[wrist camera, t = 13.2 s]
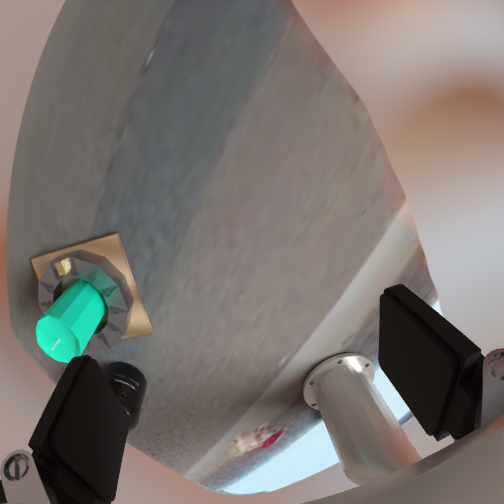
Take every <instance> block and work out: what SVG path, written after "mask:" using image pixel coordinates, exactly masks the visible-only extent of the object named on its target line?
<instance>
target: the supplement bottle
mask: <svg viewBox="0 0 504 504" xmlns="http://www.w3.org/2000/svg"><path fill="white" fill-rule="evenodd" d="M104 375H105V377H106V379H107V381H108V382H109V384H110V386H111V387H112V389H113V391H114V392H115V394H116V396H117V397H118V399H119V400H120V402H121V404H122V405H123V407H124V408H125V410H126V411H127V413H128V415H129V418H130V424H129V429H128V432H129V431H131V430H132V429H134V428H135V427H136V425H137V423H138V420H139V416H140V411H141V407H142V403H143V399H144V395H145V391H146V385H147V383H146V379H145V377H144V375H143V374H142V373H141V372H140V371H139V370H138V369H137V368H135V367H134V366H132V365H129V364H125V363H116V364H113V365H111V366H109V367H108V368H107V370H106V372H105V374H104ZM127 435H128V433H127Z"/></svg>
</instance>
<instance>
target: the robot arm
mask: <svg viewBox="0 0 504 504" xmlns="http://www.w3.org/2000/svg"><path fill="white" fill-rule="evenodd" d="M378 360H379V365H380V367H381V369H382V370H383V372H384V373H385V375H386V376H387V377H388V379H389V380H390V382H391V383H392V384H393V386H394V387H395V389H396V390H397V391H398V393H399V394H400V396H401V397H402V399H403V400H404V401H405V403H406V404H407V406H408V407H409V409H410V410H411V412H412V413H413V414H414V416H415V417H416V419H417V420H418V421H419V423H420V424H421V426H422V428H423V429H424V430H425V432H426V433H427V434H428V435H429V436H432V435H433V436H434V437H435V439H436V440H437V442H438V441H440V440H441V439H443V438H445V437H447V436H449V435H451V436H452V437H453V439H455V441H454V443H453V444H451V445H449V446H447V447H445V448H443V449H441V450H440V451H438V452H436V453H434V454H432V455H430V456H428V457H426V458H424V459H422V458H421V456H420V455H419V454H418V452H417V451H416V449H415V448H414V446H413V445H412V443H411V442H410V440H409V439H408V437H407V435H406V434H405V432H404V430H403V429H402V427H401V426H400V424H399V422H398V421H397V419H396V418H395V416H394V415H393V413H392V411H391V410H390V408H389V407H388V405H387V404H386V402H385V400H384V399H383V397H382V396H381V394H380V393H379V391H378V389H377V388H376V386H375V385H374V383H373V379H374V374H375V372H374V367H373V364H372V363H371V361H370V360H369V359H368V358H367V357H366V356H364V355H362V354H358V353H343V354H339V355H336V356H333V357H331V358H329V359H327V360H325V361H323V362H322V363H320V364H319V365H318V366H316V367H315V368H314V369H313V370H312V371H311V372H310V374H309V375H308V376H307V378H306V380H305V382H304V385H303V396H304V399H305V401H306V403H307V404H308V405H309V406H310V407H312V408H313V409H316V410H319V411H320V413H321V416H322V418H323V421H324V423H325V426H326V428H327V431H328V433H329V436H330V438H331V441H332V443H333V446H334V448H335V451H336V453H337V456H338V458H339V461H340V463H341V466H342V468H343V470H344V472H345V474H346V476H347V477H348V478H349V479H350V480H351V481H352V482H354V483H356V484H358V485H360V486H359V487H356V488H353V489H350V490H347V491H344V492H341V493H338V494H335V495H332V496H328V497H325V498H321V499H317V500H314V501H310V502H306V503H303V504H504V348H502V349H496V350H493V351H491V352H490V353H488V354H487V355H486V357H484V356H483V355H482V354H481V349H480V348H479V347H478V346H476V345H475V344H474V343H473V342H472V341H471V340H470V339H468V338H467V337H466V336H465V335H463V333H462V332H460V331H459V330H458V329H457V328H455V327H454V326H453V325H452V324H451V323H450V322H448V321H447V320H446V319H445V318H444V317H443V316H441V315H440V314H439V313H438V312H437V311H435V310H434V309H433V308H432V307H430V306H429V305H428V304H427V303H426V302H424V301H423V300H422V299H421V298H419V297H418V296H417V295H416V294H414V293H413V292H412V291H411V290H409V289H408V288H407V287H405V286H404V285H403V284H398V285H395V286H392V287H389V288H386V289H385V290H384V294H382V295H381V296H380V326H379V355H378ZM129 424H130V418H129V415H128V413H127V411H126V410H125V408H124V407H123V405H122V404H121V402H120V400H119V399H118V397H117V396H116V394H115V392H114V391H113V389H112V387H111V386H110V384H109V382H108V381H107V379H106V377H105V375H104V374H103V372H102V370H101V368H100V367H99V365H98V363H97V361H96V360H95V359H92V358H91V357H90V356H88V355H84V356H76V357H73V358H72V359H71V360H70V362H69V364H68V366H67V368H66V369H65V371H64V373H63V375H62V377H61V379H60V380H59V382H58V384H57V386H56V388H55V390H54V392H53V394H52V396H51V398H50V400H49V401H48V403H47V405H46V407H45V409H44V412H43V414H42V416H41V418H40V420H39V422H38V424H37V426H36V428H35V430H34V432H33V435H32V437H31V439H30V441H29V443H28V445H29V447H30V448H31V449H32V450H33V453H32V455H31V454H30V453H29V452H28V451H25V450H16V451H14V452H12V453H10V454H9V455H8V456H7V457H6V458H5V459H4V461H3V462H2V465H1V468H0V474H1V480H0V504H111V501H114V499H115V496H116V490H117V484H118V478H119V473H120V468H121V462H122V457H123V452H124V447H125V443H126V438H127V433H128V429H129Z"/></svg>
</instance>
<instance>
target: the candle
mask: <svg viewBox="0 0 504 504" xmlns="http://www.w3.org/2000/svg"><path fill="white" fill-rule="evenodd" d="M107 309H108V306H107V303H106V301H105V298H104V296H103V294H102V293H101V292H100V291H99V290H98V289H97V288H96V287H95V286H94V285H93V284H91V283H90V282H88V281H85V280H82V279H78V280H76V281H74V282H73V283H72V284H71V285H70V286H69V287H68V288H67V289H66V290H65V292H64V293H63V294H62V295H61V296H60V297H59V298H58V299H57V300H56V301H55V302H54V304H53V305H52V306H51V307H50V308H49V309H48V310H47V311H46V313H45V314H44V315H43V316H42V317H41V318H40V319H39V321H38V323H37V327H36V335H37V343H38V344H39V346H40V347H41V348H42V349H43V351H44V352H45V353H46V354H47V355H49V356H50V357H52V358H53V359H55V360H56V361H60V362H66V363H69V362H70V360H71V359H72V358H73V357H76V356H81V354H82V353H83V351H84V349H85V347H86V345H87V344H88V342H89V340H90V338H91V336H92V335H93V333H94V331H95V329H96V328H97V326H98V324H99V322H100V321H101V319H102V317H103V316H104V314H105V312H106V310H107Z"/></svg>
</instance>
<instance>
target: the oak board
mask: <svg viewBox="0 0 504 504" xmlns="http://www.w3.org/2000/svg"><path fill="white" fill-rule="evenodd" d="M80 249H82V250H85V251H89V252H92V253H95V254H98V255H102V256H105V257H106V258H107V259H108V260H109V261H110V262H111V263H112V264H113V265H114V266H115V267H116V268H117V269H118V270H119V271H120V272H121V273H123V274H124V275H125V278H126V280H127V283H128V286H129V289H130V291H131V294H132V297H133V299H134V302H133V307H132V313H131V319H130V324H129V326H128V328H127V331H126V333H125V334H124V335H123V336H122V337H121V338H120V339H122V338H128V337H134V336H140V335H145V334H151V333H152V330H153V329H152V326H151V324H150V321H149V319H148V316H147V314H146V311H145V309H144V306H143V303H142V301H141V298H140V295H139V293H138V290H137V287H136V284H135V282H134V279H133V276H132V273H131V270H130V267H129V264H128V261H127V258H126V255H125V252H124V249H123V246H122V243H121V240H120V236H119V233H118V232H117V233H114V234H110V235H107V236H103V237H100V238H96V239H93V240H89V241H86V242H82V243H79V244H76V245H72V246H69V247H66V248H63V249H59V250H56V251H53V252H50V253H47V254H43V255H40V256H37V257H34V258H33V259H31V261H32V264H33V267H34V270H35V272H36V275H37V277H38V280H39V279H40V278H41V276H42V275H43V273H44V272H45V270H46V269H47V267H48V266H49V265H50V263H51V262H52V261H54V260H55V259H56V258H58V257H59V256H60V255H63V254H67V253H70V252H73V251H77V250H80ZM78 279H79V278H76V277H72V278H68V279H64V281H63V285H62V294H63V293H64V292H65V290H66V289H67V288H68V287H69V286H70V285H71V284H72V283H73V282H74V281H76V280H78ZM108 317H109V308H108V309H107V310H106V312H105V314H104V316H103V317H102V319H101V321H100V322H99V323H102V322H106V321H107V320H108Z"/></svg>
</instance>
